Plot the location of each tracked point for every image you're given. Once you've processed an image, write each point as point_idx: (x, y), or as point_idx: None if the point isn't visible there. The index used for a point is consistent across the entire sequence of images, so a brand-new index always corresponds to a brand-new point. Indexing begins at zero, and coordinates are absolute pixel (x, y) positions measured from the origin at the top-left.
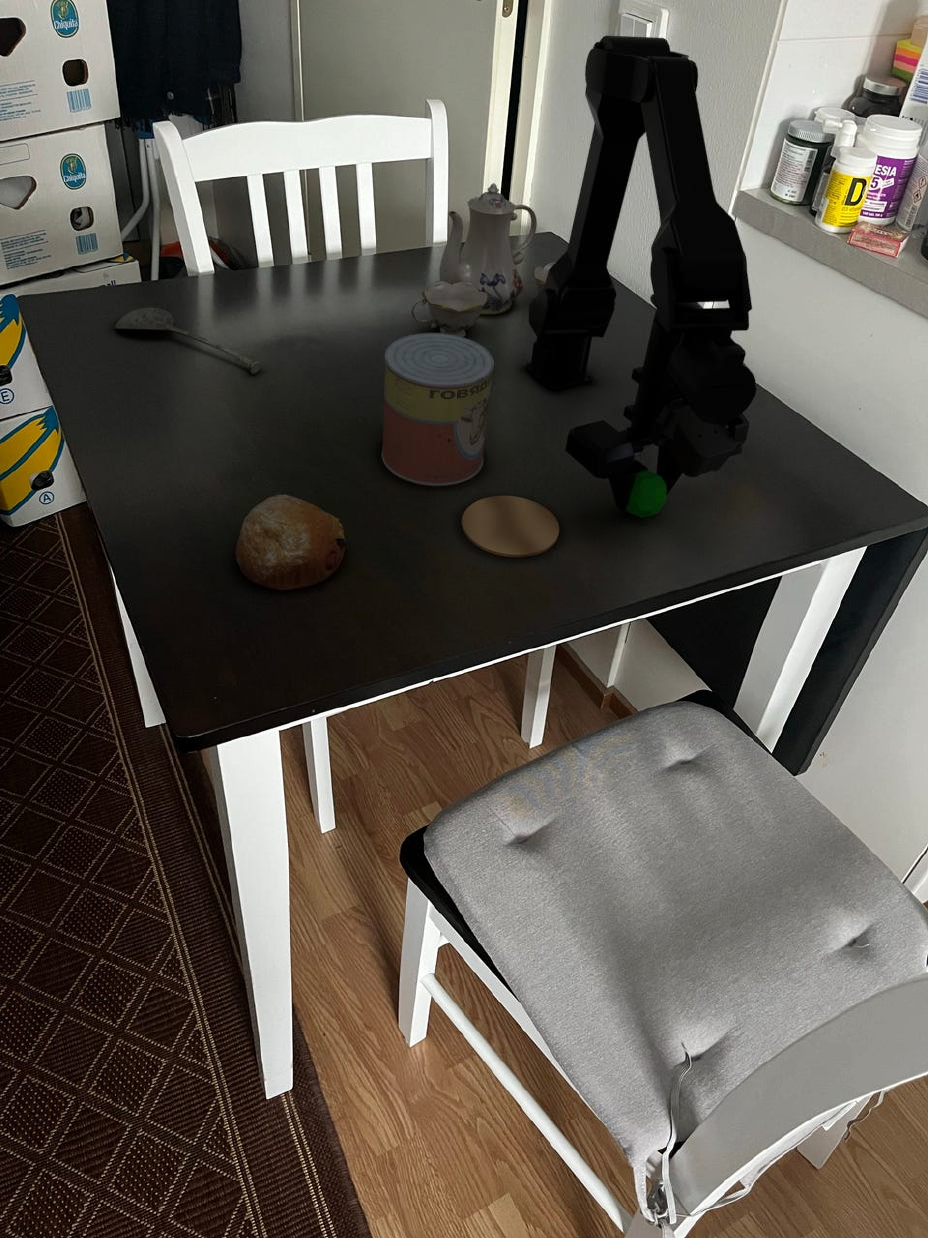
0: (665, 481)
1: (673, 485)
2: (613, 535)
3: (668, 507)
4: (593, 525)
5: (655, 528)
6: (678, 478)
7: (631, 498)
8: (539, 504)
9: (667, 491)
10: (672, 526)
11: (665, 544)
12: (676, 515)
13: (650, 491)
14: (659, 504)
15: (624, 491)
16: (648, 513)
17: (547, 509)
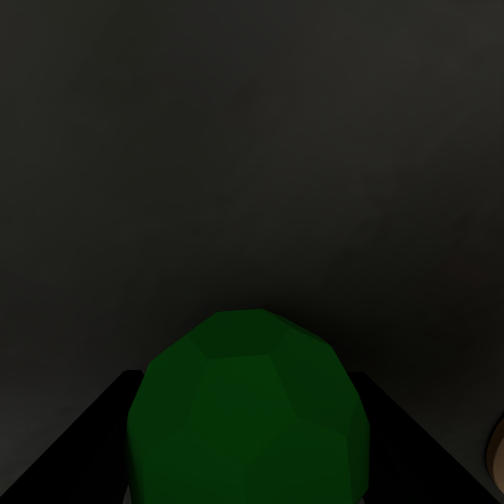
0: (108, 467)
1: (71, 429)
2: (433, 287)
3: (109, 326)
4: (438, 352)
5: (254, 251)
6: (24, 479)
7: (366, 425)
8: (495, 464)
9: (113, 400)
10: (173, 230)
11: (299, 140)
12: (107, 278)
13: (307, 449)
14: (240, 345)
15: (498, 501)
16: (285, 321)
17: (498, 445)
